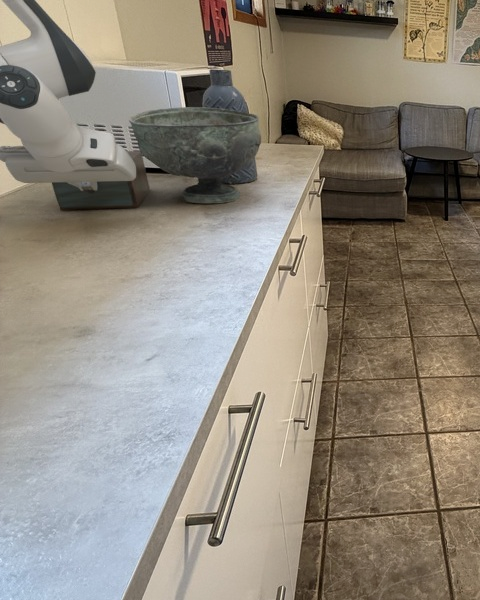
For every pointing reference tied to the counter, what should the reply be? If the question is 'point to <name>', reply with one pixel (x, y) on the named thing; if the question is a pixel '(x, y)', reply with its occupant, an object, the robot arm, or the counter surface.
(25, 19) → the robot arm
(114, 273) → the counter surface
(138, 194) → the cabinet
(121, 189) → the drawer
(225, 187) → the decorative bowl
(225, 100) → the vase
